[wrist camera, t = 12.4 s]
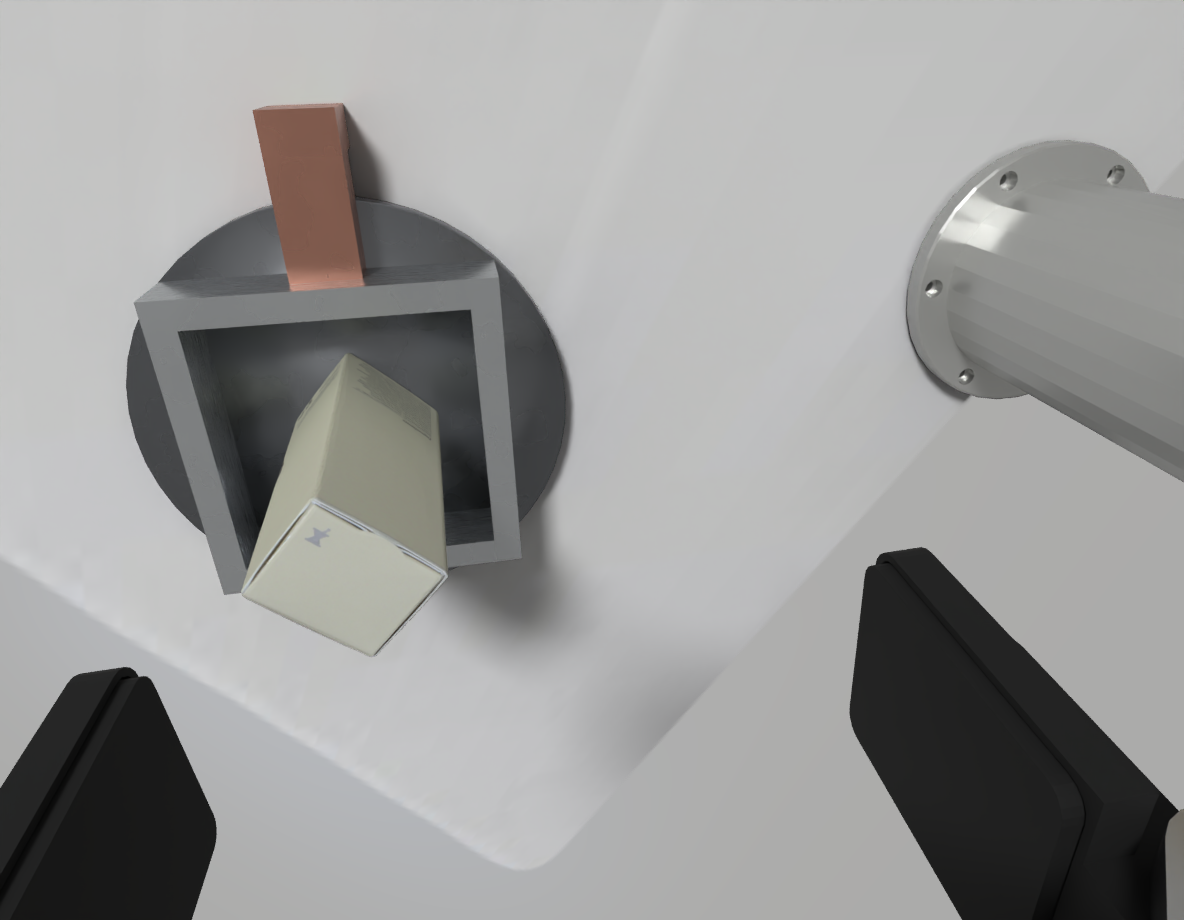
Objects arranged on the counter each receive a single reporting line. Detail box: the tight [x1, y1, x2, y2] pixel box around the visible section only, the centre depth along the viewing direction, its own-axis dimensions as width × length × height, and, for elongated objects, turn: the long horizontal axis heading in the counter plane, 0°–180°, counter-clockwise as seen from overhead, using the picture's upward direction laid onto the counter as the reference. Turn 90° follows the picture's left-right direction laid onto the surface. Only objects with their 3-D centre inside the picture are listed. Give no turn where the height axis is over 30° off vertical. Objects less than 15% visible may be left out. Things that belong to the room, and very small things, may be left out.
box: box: [241, 353, 449, 657], centre depth 29 cm, size 5×4×13 cm
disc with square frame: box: [126, 103, 565, 595], centre depth 33 cm, size 19×22×4 cm
